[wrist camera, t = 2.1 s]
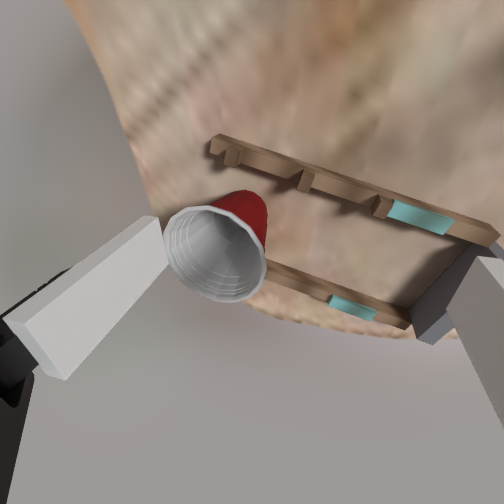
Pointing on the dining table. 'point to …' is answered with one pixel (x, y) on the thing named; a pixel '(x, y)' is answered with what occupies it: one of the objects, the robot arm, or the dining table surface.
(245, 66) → the dining table surface
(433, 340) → the end stop
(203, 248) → the plastic cup
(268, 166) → the comb channel
